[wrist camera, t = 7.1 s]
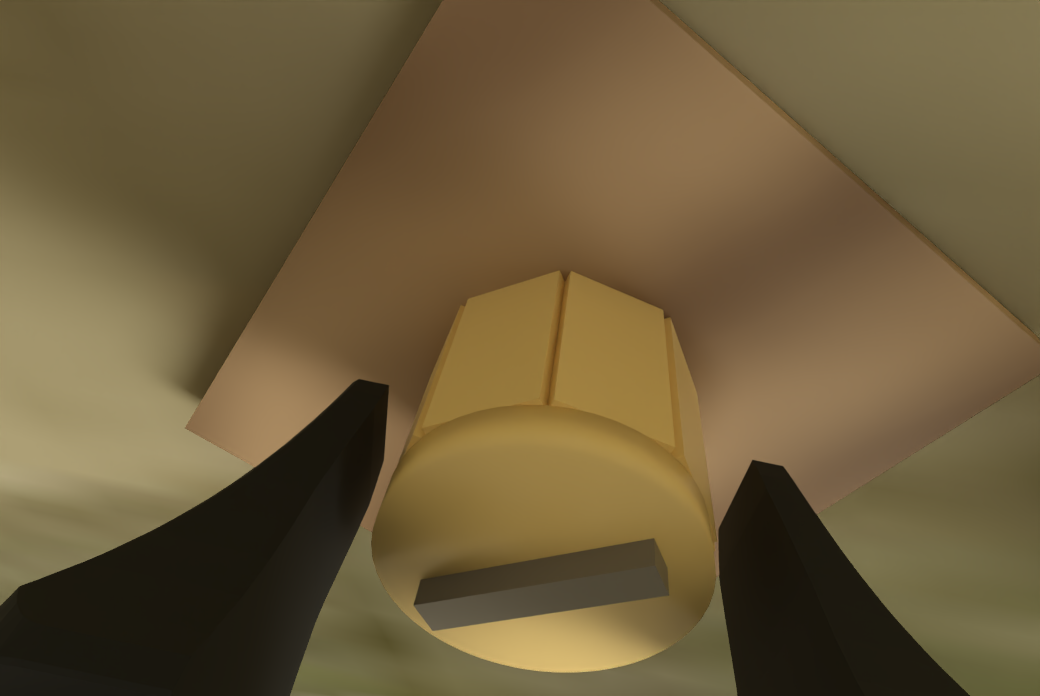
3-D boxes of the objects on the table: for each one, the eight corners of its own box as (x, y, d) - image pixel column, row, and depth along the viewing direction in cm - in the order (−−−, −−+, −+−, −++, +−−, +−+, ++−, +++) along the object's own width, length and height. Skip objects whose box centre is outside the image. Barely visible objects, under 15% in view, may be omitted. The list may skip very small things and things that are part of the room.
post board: (1034, 333, 14) (1156, 473, 11) (593, 624, 22) (588, 761, 18) (522, -121, 11) (480, -114, 8) (204, 402, 18) (113, 520, 15)
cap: (646, 240, 13) (657, 431, 9) (720, 451, 16) (757, 680, 11) (392, 320, 15) (294, 514, 10) (497, 498, 18) (454, 712, 13)
